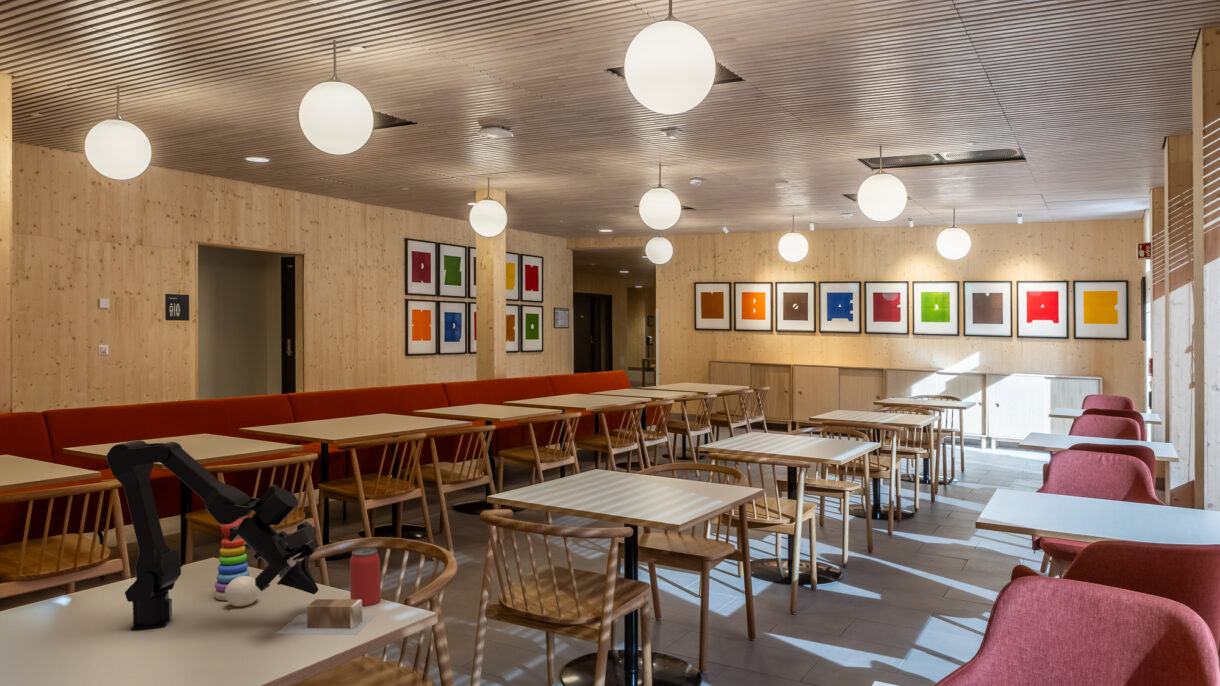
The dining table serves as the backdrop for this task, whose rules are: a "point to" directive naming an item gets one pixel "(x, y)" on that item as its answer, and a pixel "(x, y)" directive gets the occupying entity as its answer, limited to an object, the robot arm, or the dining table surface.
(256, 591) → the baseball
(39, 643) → the dining table surface
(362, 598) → the beer can
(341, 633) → the rubber mat
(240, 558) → the stacking toy
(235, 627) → the dining table surface
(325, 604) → the walnut block
